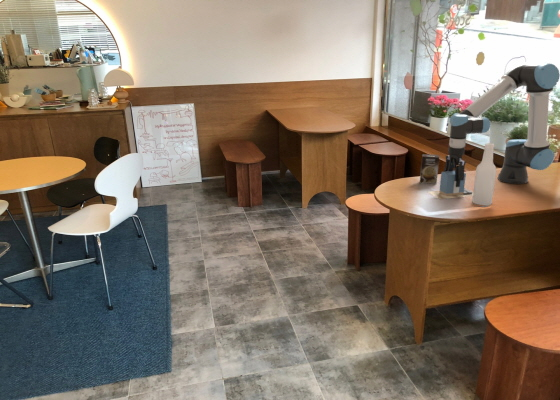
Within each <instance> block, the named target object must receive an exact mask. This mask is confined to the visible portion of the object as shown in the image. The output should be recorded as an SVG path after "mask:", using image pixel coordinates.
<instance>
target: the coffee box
mask: <svg viewBox="0 0 560 400" xmlns="http://www.w3.org/2000/svg"><path fill="white" fill-rule="evenodd" d="M421 156H422V157H421V164H420V165H421V166H420V177H419V184H437V183H438V173H439V165H440V163H439V162H440V155H439V154H430V153H429V154H427V153H425V154H424V153H423V154H422V155H421Z"/></svg>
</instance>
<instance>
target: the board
mask: <svg viewBox="0 0 560 400" xmlns="http://www.w3.org/2000/svg"><path fill="white" fill-rule="evenodd" d="M464 188H465V189H467V190H469V189H468V188H466V187H464ZM439 191H440V190H431V191H427V193H428V194H430V195H431V196H433V197H435V198H437V199H438V200H444V199H446V200H447V199H453V198H454V199H456V198H466V197H473V191H472V190H469V191H471V192H472V194H467V195H464V194H461V195H452V196H445V195H443V194H441V193H439Z"/></svg>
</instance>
